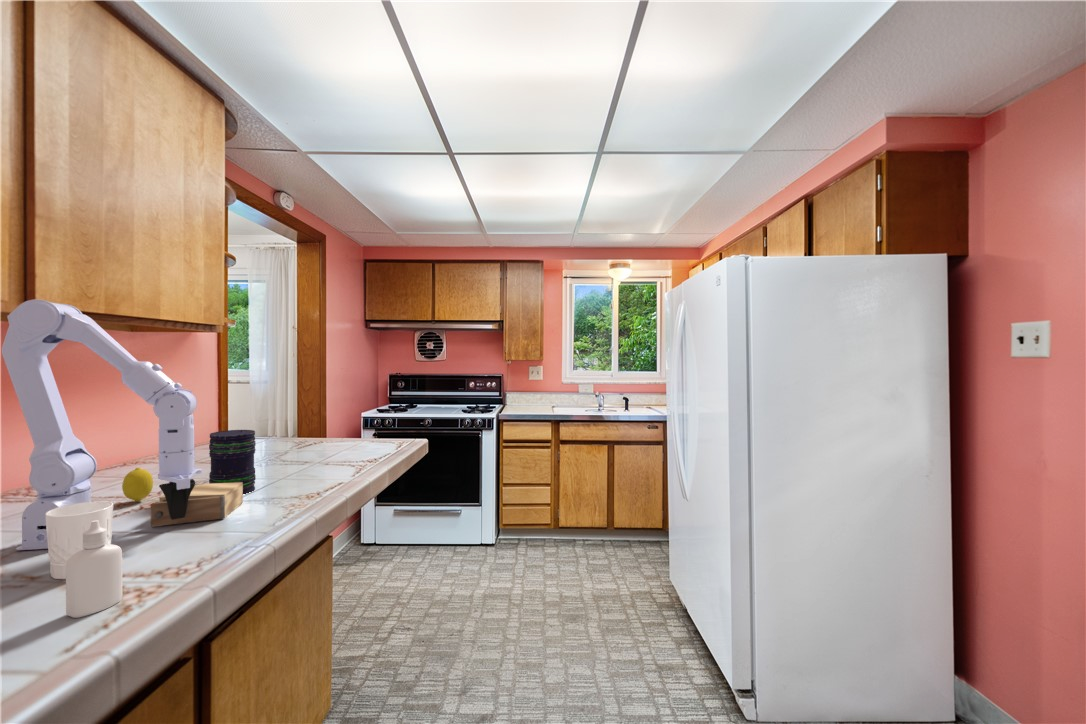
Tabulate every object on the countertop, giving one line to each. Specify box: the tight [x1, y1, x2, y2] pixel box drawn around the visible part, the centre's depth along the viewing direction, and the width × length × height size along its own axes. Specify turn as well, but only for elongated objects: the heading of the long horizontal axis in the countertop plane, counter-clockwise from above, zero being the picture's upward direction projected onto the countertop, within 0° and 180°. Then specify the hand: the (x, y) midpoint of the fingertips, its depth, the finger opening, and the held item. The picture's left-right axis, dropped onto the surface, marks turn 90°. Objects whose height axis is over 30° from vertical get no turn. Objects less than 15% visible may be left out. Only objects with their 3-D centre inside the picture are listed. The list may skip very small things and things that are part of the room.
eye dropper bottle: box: [65, 520, 123, 619], centre depth 66 cm, size 4×6×12 cm
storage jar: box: [208, 429, 257, 495], centre depth 122 cm, size 10×10×15 cm
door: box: [150, 496, 226, 528], centre depth 99 cm, size 2×12×5 cm, turn 116°
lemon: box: [121, 467, 154, 503], centre depth 113 cm, size 6×6×8 cm
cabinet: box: [158, 482, 244, 518], centre depth 106 cm, size 10×12×5 cm
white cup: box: [45, 500, 114, 580], centre depth 78 cm, size 8×8×10 cm
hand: (177, 517), depth 97 cm, fingers closed, pressing on door
